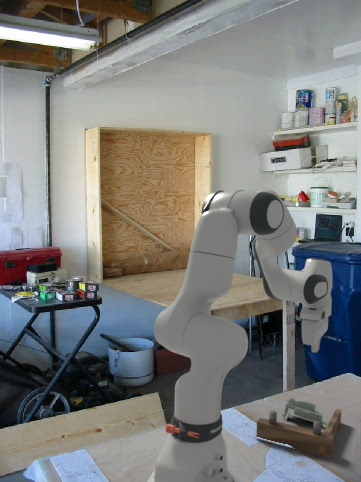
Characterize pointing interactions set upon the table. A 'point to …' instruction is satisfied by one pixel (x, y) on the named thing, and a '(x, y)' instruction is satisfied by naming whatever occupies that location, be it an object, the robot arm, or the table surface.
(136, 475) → the table surface
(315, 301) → the robot arm
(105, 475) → the table surface
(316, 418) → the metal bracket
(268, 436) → the bench stop
